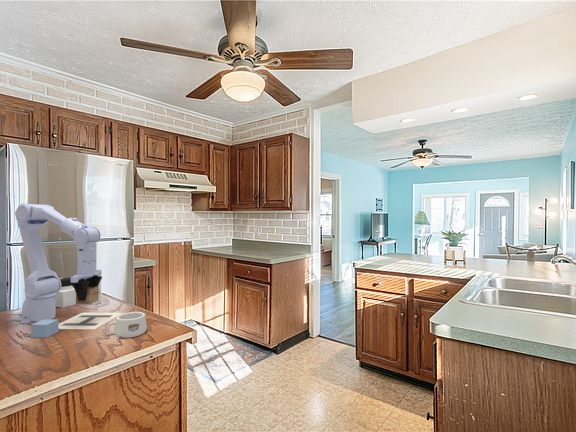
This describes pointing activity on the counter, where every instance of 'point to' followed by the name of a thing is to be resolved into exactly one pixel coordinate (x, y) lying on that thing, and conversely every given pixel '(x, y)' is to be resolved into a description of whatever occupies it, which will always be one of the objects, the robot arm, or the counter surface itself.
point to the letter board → (87, 320)
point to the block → (90, 296)
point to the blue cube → (44, 328)
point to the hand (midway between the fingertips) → (86, 298)
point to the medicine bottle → (66, 294)
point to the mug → (129, 325)
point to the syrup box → (99, 296)
